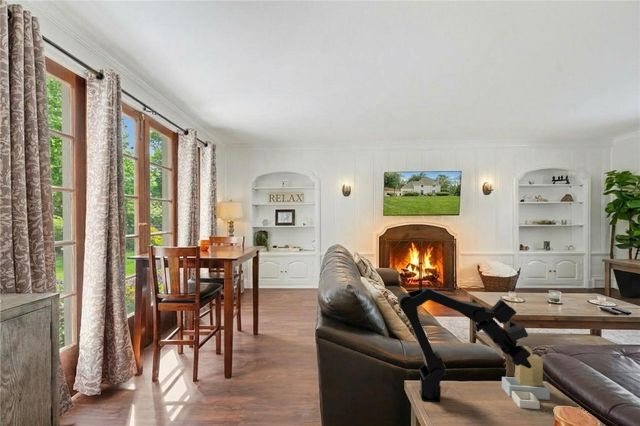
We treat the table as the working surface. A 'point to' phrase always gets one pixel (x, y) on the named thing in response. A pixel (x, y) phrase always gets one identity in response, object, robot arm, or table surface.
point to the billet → (524, 371)
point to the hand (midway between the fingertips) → (527, 364)
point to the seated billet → (537, 371)
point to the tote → (529, 403)
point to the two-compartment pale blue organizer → (524, 388)
